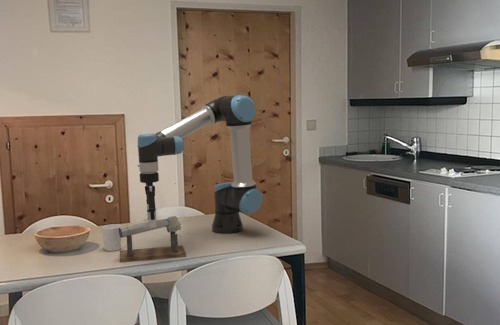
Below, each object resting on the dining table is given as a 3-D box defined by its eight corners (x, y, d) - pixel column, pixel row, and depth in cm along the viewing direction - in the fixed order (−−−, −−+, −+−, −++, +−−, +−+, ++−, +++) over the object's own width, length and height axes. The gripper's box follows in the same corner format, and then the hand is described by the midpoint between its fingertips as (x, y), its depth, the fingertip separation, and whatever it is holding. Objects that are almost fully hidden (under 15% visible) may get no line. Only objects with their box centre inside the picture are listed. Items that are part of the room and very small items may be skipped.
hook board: (182, 248, 235) (181, 228, 234) (185, 256, 223) (185, 234, 222) (120, 254, 229) (118, 232, 228) (120, 262, 217) (119, 239, 216)
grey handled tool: (117, 226, 222) (176, 212, 231) (120, 242, 223) (179, 227, 232) (119, 229, 217) (180, 214, 226) (123, 245, 218) (183, 229, 227)
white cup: (102, 248, 239) (100, 225, 238) (120, 245, 242) (119, 223, 241) (104, 252, 232) (103, 229, 231) (123, 250, 235) (122, 227, 234)
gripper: (138, 168, 233) (141, 217, 236) (140, 177, 209) (144, 231, 212) (156, 167, 235) (159, 216, 238) (160, 175, 211) (163, 229, 214)
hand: (152, 223), depth 225 cm, fingers open, 13 cm apart
